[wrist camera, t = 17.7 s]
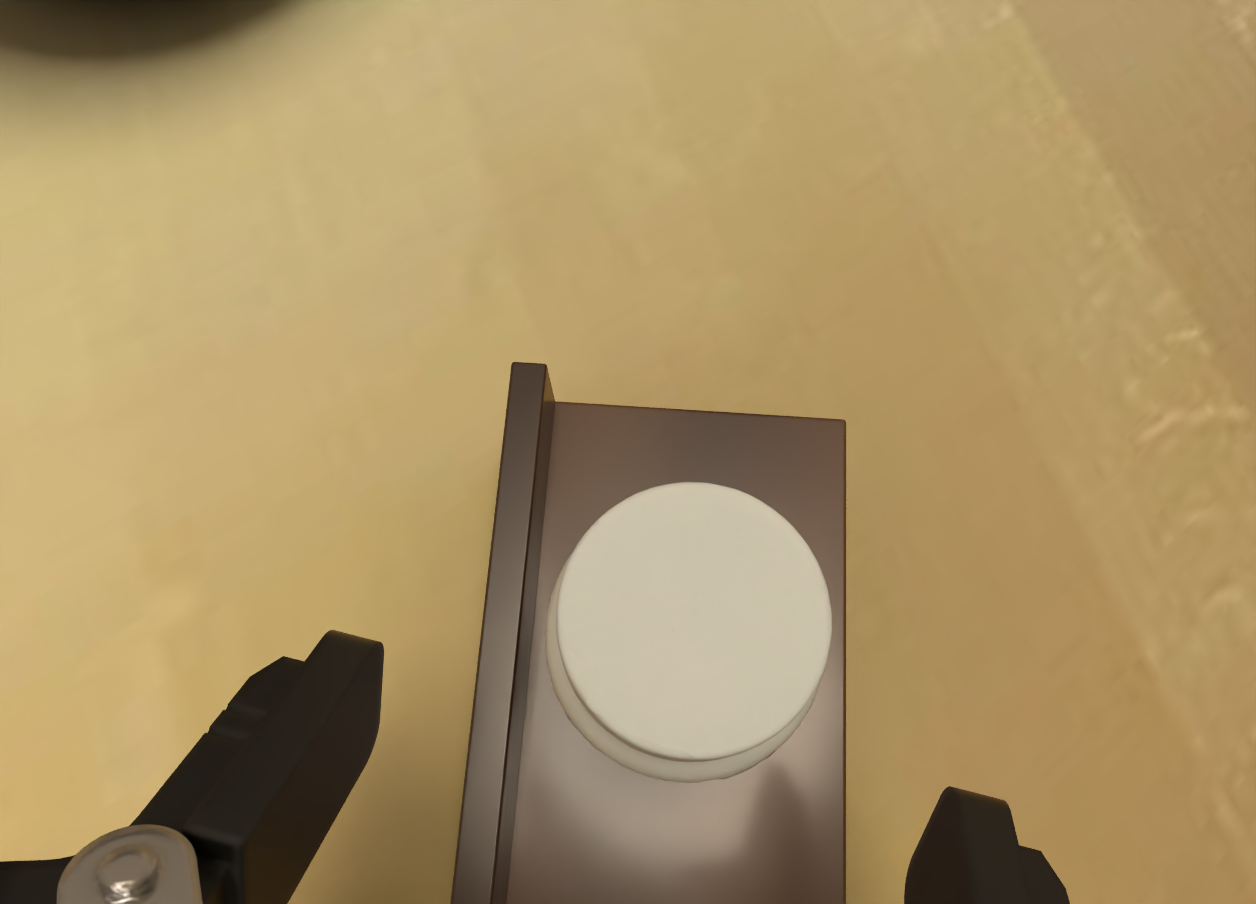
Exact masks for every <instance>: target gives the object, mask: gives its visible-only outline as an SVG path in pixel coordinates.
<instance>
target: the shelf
mask: <svg viewBox="0 0 1256 904" xmlns="http://www.w3.org/2000/svg"><path fill="white" fill-rule="evenodd" d="M680 482H701V483H711V484H716V485H721V486H725V487H729V488H733V489H736V490H739V491H741V492H744V493H746V494H749V495H751V496H753V497H755V498H757V499H759V500H760V501H762V502H763V503H765V504H766V505H768V506H769V507H771V508H772V509H774V510H775V511H776V512H777V513H779V514H780V515H781V516H783V517H784V518H785V519H786V520H787V521H788V522H789V523H790V524H791V525H792V526H793V527H794V528H795V529H796V530H797V532H798V533H799V534H800V535H801V537H802V538H803V539H804V541H805V542H806V543H807V545H808V546H809V548H810V549H811V551H812V553H813V554H814V556H815V558H816V560H817V562H818V564H819V566H820V568H821V571H822V574H823V576H824V579H825V581H826V585H827V588H828V593H829V599H830V605H831V613H832V635H831V644H830V649H829V654H828V659H827V664H826V667H825V670H824V673H823V675H822V677H821V679H820V683H819V686H818V689H817V692H816V695H815V698H814V701H813V704H812V706H811V707H810V709H809V711H808V712H807V714H806V715H805V717H804V719H803V721H802V723H801V724H800V726H799V727H798V728H797V729H796V730H795V732H794V733H793V734H792V735H791V737H790V738H789V739H788V740H787V741H786V742H785V743H784V744H783V745H782V746H780V747H779V748H778V749H777V750H776V751H775V752H774V753H773V754H772V755H771V756H770V757H768V758H766V759H765V760H763V761H761V762H760V763H758V764H757V765H756V766H754V767H752V768H750V769H748V770H746V771H744V772H742V773H740V774H737V775H734V776H732V777H730V778H726V779H715V780H709V781H703V782H697V783H684V782H675V781H667V780H661V779H657V778H653V777H649V776H646V775H643V774H640V773H637V772H634V771H632V770H630V769H628V768H626V767H624V766H622V765H620V764H618V763H616V762H615V761H613V760H612V759H610V758H609V757H607V756H606V755H605V754H603V753H602V752H600V751H599V750H597V749H596V748H595V747H593V745H592V744H591V743H590V742H589V741H587V740H586V739H585V737H584V736H583V735H582V734H581V733H580V732H579V731H578V730H577V729H576V728H575V726H574V725H573V724H572V723H571V722H570V720H569V718H568V717H567V715H566V713H565V712H564V710H563V707H562V705H561V703H560V702H559V700H558V698H557V696H556V694H555V691H554V688H553V685H552V681H551V677H550V672H549V668H548V664H547V655H546V643H545V628H546V616H547V611H548V607H549V603H550V598H551V595H552V592H553V589H554V587H555V584H556V581H557V579H558V577H559V574H560V572H561V570H562V568H563V566H564V565H565V563H566V561H567V560H568V558H569V556H570V555H571V554H572V553H573V551H574V549H575V547H576V546H577V544H578V542H579V541H580V540H581V538H582V537H583V536H584V534H585V533H586V532H587V531H588V530H589V528H590V527H591V526H592V525H593V524H594V523H595V522H596V521H597V520H598V519H599V518H600V517H601V516H602V515H603V514H605V513H606V512H607V511H608V510H610V509H611V508H612V507H614V506H615V505H617V504H619V503H620V502H622V501H623V500H625V499H627V498H628V497H630V496H632V495H634V494H636V493H639V492H642V491H644V490H647V489H650V488H653V487H657V486H661V485H666V484H672V483H680ZM450 904H846V422H845V420H842V419H826V418H810V417H794V416H778V415H762V414H746V413H730V412H714V411H698V410H682V409H666V408H650V407H635V406H619V405H603V404H587V403H571V402H555V399H554V395H553V391H552V386H551V382H550V377H549V373H548V369H547V365H546V364H537V363H521V362H513V363H512V365H511V374H510V383H509V392H508V400H507V409H506V418H505V427H504V436H503V445H502V453H501V462H500V471H499V480H498V489H497V497H496V506H495V515H494V524H493V533H492V541H491V550H490V559H489V568H488V577H487V586H486V594H485V603H484V612H483V621H482V630H481V638H480V647H479V656H478V665H477V674H476V682H475V691H474V700H473V709H472V718H471V727H470V735H469V744H468V753H467V762H466V771H465V779H464V788H463V797H462V806H461V815H460V823H459V832H458V841H457V850H456V859H455V867H454V876H453V885H452V894H451V903H450Z"/></svg>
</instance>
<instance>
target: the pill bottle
mask: <svg viewBox="0 0 1256 904" xmlns="http://www.w3.org/2000/svg"><path fill="white" fill-rule="evenodd" d="M831 635H832V613H831V605H830V599H829V593H828V588H827V585H826V581H825V579H824V576H823V574H822V571H821V568H820V566H819V564H818V562H817V560H816V558H815V556H814V554H813V553H812V551H811V549H810V548H809V546H808V545H807V543H806V542H805V541H804V539H803V538H802V537H801V535H800V534H799V533H798V532H797V530H796V529H795V528H794V527H793V526H792V525H791V524H790V523H789V522H788V521H787V520H786V519H785V518H784V517H783V516H781V515H780V514H779V513H777V512H776V511H775V510H774V509H772V508H771V507H769V506H768V505H766V504H765V503H763V502H762V501H760V500H759V499H757V498H755V497H753V496H751V495H749V494H746V493H744V492H741V491H739V490H736V489H733V488H729V487H725V486H721V485H716V484H711V483H701V482H680V483H672V484H666V485H661V486H657V487H653V488H650V489H647V490H644V491H642V492H639V493H636V494H634V495H632V496H630V497H628V498H627V499H625V500H623V501H622V502H620V503H619V504H617V505H615V506H614V507H612V508H611V509H610V510H608V511H607V512H606V513H605V514H603V515H602V516H601V517H600V518H599V519H598V520H597V521H596V522H595V523H594V524H593V525H592V526H591V527H590V528H589V530H588V531H587V532H586V533H585V534H584V536H583V537H582V538H581V540H580V541H579V542H578V544H577V546H576V547H575V549H574V551H573V553H572V554H571V555H570V556H569V558H568V560H567V561H566V563H565V565H564V566H563V568H562V570H561V572H560V574H559V577H558V579H557V581H556V584H555V587H554V589H553V592H552V595H551V598H550V603H549V607H548V611H547V616H546V628H545V643H546V655H547V664H548V668H549V672H550V677H551V681H552V685H553V688H554V691H555V694H556V696H557V698H558V700H559V702H560V703H561V705H562V707H563V710H564V712H565V713H566V715H567V717H568V718H569V720H570V722H571V723H572V724H573V725H574V726H575V728H576V729H577V730H578V731H579V732H580V733H581V734H582V735H583V736H584V737H585V739H586V740H587V741H589V742H590V743H591V744H592V745H593V747H595V748H596V749H597V750H599V751H600V752H602V753H603V754H605V755H606V756H607V757H609V758H610V759H612V760H613V761H615V762H616V763H618V764H620V765H622V766H624V767H626V768H628V769H630V770H632V771H634V772H637V773H640V774H643V775H646V776H649V777H653V778H657V779H661V780H667V781H675V782H684V783H697V782H703V781H709V780H715V779H726V778H730V777H732V776H734V775H737V774H740V773H742V772H744V771H746V770H748V769H750V768H752V767H754V766H756V765H757V764H758V763H760V762H761V761H763V760H765V759H766V758H768V757H770V756H771V755H772V754H773V753H774V752H775V751H776V750H777V749H778V748H779V747H780V746H782V745H783V744H784V743H785V742H786V741H787V740H788V739H789V738H790V737H791V735H792V734H793V733H794V732H795V730H796V729H797V728H798V727H799V726H800V724H801V723H802V721H803V719H804V717H805V715H806V714H807V712H808V711H809V709H810V707H811V706H812V704H813V701H814V698H815V695H816V692H817V689H818V686H819V683H820V679H821V677H822V675H823V673H824V670H825V667H826V664H827V659H828V654H829V649H830V644H831Z"/></svg>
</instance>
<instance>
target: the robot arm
mask: <svg viewBox="0 0 1256 904" xmlns="http://www.w3.org/2000/svg"><path fill="white" fill-rule="evenodd" d="M383 661H384V647H383V644H382V643H381V642H378V641H374V640H370V639H366V638H362V637H358V636H355V635H351V634H347V633H343V632H339V631H335V630H330V631H328V632H327V633H326V634H325V635H324V636H323V637H322V639H321V640H320V641H319V643H318V644H317V646H316V647H315V648H314V650H313V651H312V652H311V654H310V655H309V656H308V658H307V659H306V660H305V662H304V661H300V660H296V659H292V658H288V657H284V656H283V657H281V658H280V659H278V660H276V661H275V662H273V663H272V664H270V665H268V666H267V667H265V668H263V669H262V670H260V671H259V672H257V673H255V674H254V675H252V676H250V677H249V679H248V680H247V681H246V682H245V684H244V685H243V686H242V687H241V689H240V690H239V691H238V692H237V694H236V695H235V696H234V697H233V699H232V700H231V701H230V702H229V704H228V707H227V709H226V710H223V711H222V712H221V714H220V715H219V716H218V717H217V719H216V720H215V721H214V722H213V724H212V725H211V726H210V729H209V731H208V733H205V734H204V735H203V736H202V737H201V739H200V740H199V741H198V742H197V744H196V745H195V746H194V747H193V749H192V750H191V751H190V752H189V754H188V755H187V756H186V757H185V759H184V760H183V761H182V762H181V764H180V765H179V766H178V767H177V769H176V770H175V771H174V772H173V773H172V775H171V776H170V777H169V778H168V780H167V781H166V782H165V783H164V785H163V786H162V787H161V788H160V790H159V791H158V792H157V793H156V795H155V796H154V797H153V798H152V800H151V801H150V802H149V803H148V805H147V806H146V807H145V808H144V810H143V811H142V812H141V813H140V815H139V816H138V817H137V818H136V819H135V820H134V821H133V822H132V824H131V825H130V826H128V827H124V828H121V829H117V830H114V831H112V832H109V833H107V834H105V835H103V836H101V837H99V838H97V839H96V840H94V841H92V842H91V843H89V844H88V845H87V846H85V847H84V848H83V849H82V850H81V851H79V852H78V853H77V854H76V855H74V856H71V857H66V858H61V859H53V860H36V861H6V862H0V904H287V903H288V902H289V900H290V898H291V896H292V895H293V893H294V891H295V889H296V887H297V886H298V884H299V882H300V880H301V879H302V877H303V875H304V873H305V872H306V870H307V868H308V866H309V864H310V863H311V861H312V859H313V857H314V856H315V854H316V852H317V850H318V849H319V847H320V845H321V843H322V841H323V840H324V838H325V836H326V834H327V833H328V831H329V829H330V827H331V826H332V824H333V822H334V820H335V819H336V817H337V815H338V813H339V811H340V810H341V808H342V806H343V804H344V803H345V801H346V799H347V797H348V796H349V794H350V792H351V790H352V788H353V787H354V785H355V783H356V781H357V780H358V778H359V776H360V774H361V773H362V771H363V769H364V767H365V765H366V763H367V761H368V759H369V757H370V755H371V752H372V749H373V747H374V744H375V740H376V737H377V733H378V728H379V723H380V709H381V693H382V677H383ZM904 904H1070V903H1069V899H1068V895H1067V892H1066V888H1065V887H1064V885H1063V884H1062V882H1061V881H1060V879H1059V878H1058V876H1057V875H1056V873H1055V872H1054V870H1053V869H1052V867H1051V866H1050V864H1049V863H1048V861H1047V860H1046V858H1045V857H1044V855H1043V854H1042V852H1041V851H1039V850H1035V849H1031V848H1027V847H1023V846H1019V844H1018V840H1017V836H1016V832H1015V827H1014V823H1013V819H1012V815H1011V811H1010V808H1009V806H1008V804H1007V803H1006V802H1005V801H1004V800H1001V799H997V798H993V797H989V796H985V795H981V794H978V793H974V792H970V791H966V790H962V789H958V788H954V787H947V788H946V789H945V790H944V791H943V793H942V794H941V796H940V798H939V800H938V803H937V805H936V807H935V809H934V811H933V813H932V815H931V818H930V820H929V822H928V824H927V826H926V828H925V830H924V833H923V835H922V837H921V839H920V841H919V843H918V845H917V848H916V850H915V852H914V854H913V856H912V859H911V861H910V864H909V868H908V872H907V877H906V883H905V894H904Z"/></svg>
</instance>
